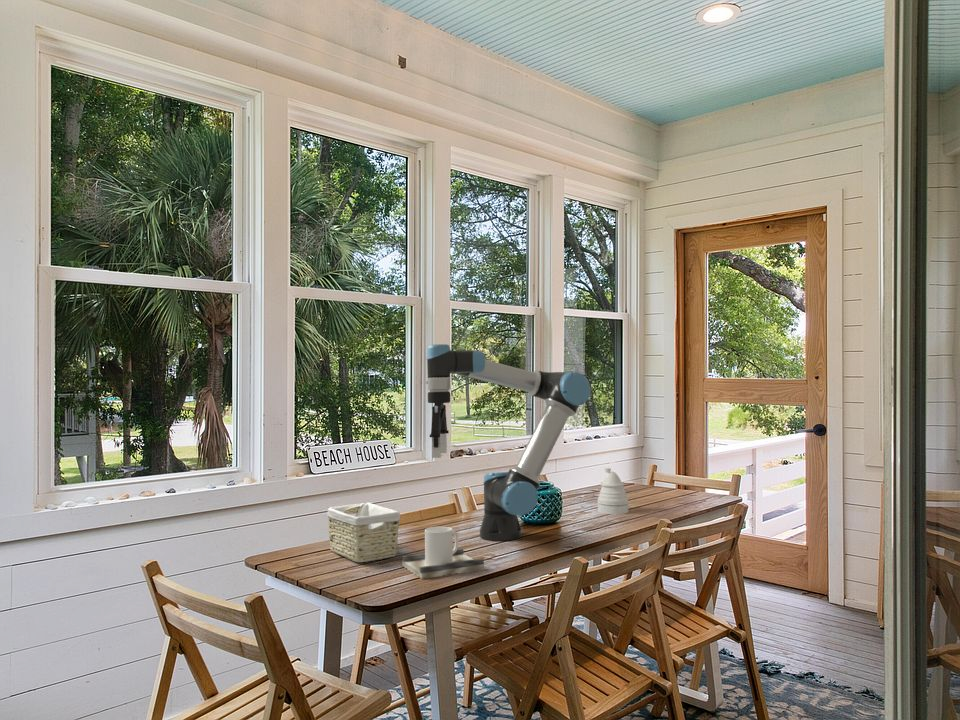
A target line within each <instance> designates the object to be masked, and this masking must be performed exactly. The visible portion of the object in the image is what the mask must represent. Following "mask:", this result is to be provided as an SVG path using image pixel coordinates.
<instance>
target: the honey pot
mask: <svg viewBox="0 0 960 720" xmlns="http://www.w3.org/2000/svg"><path fill="white" fill-rule="evenodd" d="M611 470H612V469H611V468H609V467H608V468H607V467H605V468H604V471H605V473H606V474H607V475H606V477H605V478H604V480H603V481H602V482H600V484H599V485H600V486H601V489H600V490H599V494H598V497H597V512H598V513H600V512H601V513H600V514H605V513H607V514H606V515H624V514H627V513H629V498H628V495H627V493H626V489H625V488H624V486H625V484H624V482H622V480H621V479H620V477H619V475H618V474H617V473H616V472H614V471H611Z"/></svg>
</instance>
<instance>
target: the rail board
mask: <svg viewBox="0 0 960 720" xmlns="http://www.w3.org/2000/svg"><path fill="white" fill-rule="evenodd" d="M484 560H485V559H484V558H482V557H481V558H475V559H474V558H472V557H470V556H468V555H467V554H465V553H464V548H458V549H457V551H456V552H455V553H454V554H453V561H452V563H445V564H438V565H431V566H428V565H427V564H426V562H425V552H422V553H415V554H408V555H403V556H402V561H401V564H402V565H401V566H402V567H403V566H404V567H403V568H405V569H406V568H407V569H406V570H408V571H409V570H410V571H409V572H410V573H412V572H413V573H412V574H414V575H415V574H416V575H415V576H417V577H418V576H419V577H418V578H419V579H421V580H422V579H423V580H424V578H425V579H429V578H439V577H444V576H443V575H445V576H450V575H449V574H451V575H456V574H455V573H458V574H463V573H462V572H465V573H470V571H471V572H476V571H484V570H485V561H484ZM468 571H469V572H468Z"/></svg>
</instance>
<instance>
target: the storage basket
mask: <svg viewBox="0 0 960 720" xmlns="http://www.w3.org/2000/svg"><path fill="white" fill-rule="evenodd" d="M352 514H353V515H352ZM354 514H355V515H354ZM326 516H327V518H328V534H329V549H330V551H331V552H332V553H334V552H335V554H338V556H339V555H340V556H342V557H344V558H346V559H348V560H350V561H353V562H355V563H364V562H370V561H371V562H372V561H373V562H374V561H376V560H379V561H380V560H383V559H390V558H394V557H396V555H397V553H398V552H397V551H398V541H399V539H398V537H399V528H400V521H401V514H400V511H397V510H395V509H391V508H387V507H385V506H382V505H377V504H374V503H372V502H363V503H361V502H360V503H354V504H346V505H345V504H344V505H338V506H330V507H329V508H328V509H327V513H326Z"/></svg>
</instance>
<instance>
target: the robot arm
mask: <svg viewBox="0 0 960 720" xmlns="http://www.w3.org/2000/svg"><path fill="white" fill-rule="evenodd" d="M426 354H427V356H426V364H427V365H426V366H427V380H426V381H425V384H426V385H427V390H428V393H427V403H428V404H434V405H433V406H432V407H431V410H432V412H431V413H432V415H431V429H430V430H431V431H430V434H429V438H431V454H432V455H431V458H433V459H438V458H439V459H441V458H442V454H447V453H448V452H447V451H448V449H447V448H448V447H447V446H448V445H447V440H448V439H447V434H449V432H450V431H449V430H448V426H447V425H448V424H447V414H446V413H447V408H446V404H449V403H451V392H450V390H451V374H452V375H454V374H455V375H460V376H463V377H468V378H471V379H476V380H480V381H483V382H487V383H491V384H496V385H499V386H503V387H507V388H511V389H516V390H519V391H522V392H523V391H524V392H527V393H528V394H529V396H531V397H534V398H539V399H541V400H543V401H545V404H546V407H545V408H544V410H543V412H542V414H541V417H540V419H539V420H538V423H537V425H536V426H535V428H534V430H533V431H532V432H533V433H532V435H531V436H530V438H529V439H528V442H527V445H526V446H525V448H524V450H523V452H522V454H521V456H520V458H519V460H518V462H517V464H516V465H515V466H514V467H510V468H509V470H508V471H501V472H500V471H499V472H488V473H485V475H484V477H483V479H484V480H483V505H484V511H483V512H484V515H483V519H482V520H481V526H480V529H479V537H480V538H481V539H483V540H487V541H488V540H489V541H494V542H495V541H496V542H497V541H498V542H499V541H501V542H502V541H504V542H505V541H512V540H513V541H514V540H518V539H520V538H521V537H522V535H523V533H522V532H523V531H522V527H521V524H520V521H519V518H518V516H525V515H528V514H529V513H530V512H532V511H533V510H534V509H535V508H536V506H537V504H538V498H539V497H538V496H539V495H538V490H539V487H540V485H541V482H540V479H539V477H540V476H541V473H542V472H543V469H544V467H545V465H546V463H547V461H548V460H549V457H550V455H551V453H552V451H553V449H554V447H555V445H556V442H557V441H558V439H559V438H560V436H561V433H562V432H563V431H562V430H563V429H564V427H565V425H566V423H567V421H568V419H569V418H570V417H573V416H575V415H576V413H577V411H578V409H579V407H580V406H582V405H584V404H585V403H586V402H587V401H589V398H590V396H591V390H592V389H591V385H590V382H589V379H588V378H587V377H586V376H585V375H584V374H582V373H580V372H578V371H572V370H569V371H556V372H554V371H553V372H547V371H541V370H538V369H537V370H534V371H530V370H526V369H522V368H519V367H515V366H510V365H508V364H503V363H499V362H496V361H491V360H488V359H486V358H485V354H484V352H483V351H481V350H452V349H451V347H450V345H449V344H444V343H442V344H441V343H440V344H438V343H437V344H436V343H435V344H430V345H428V347H427V353H426Z"/></svg>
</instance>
